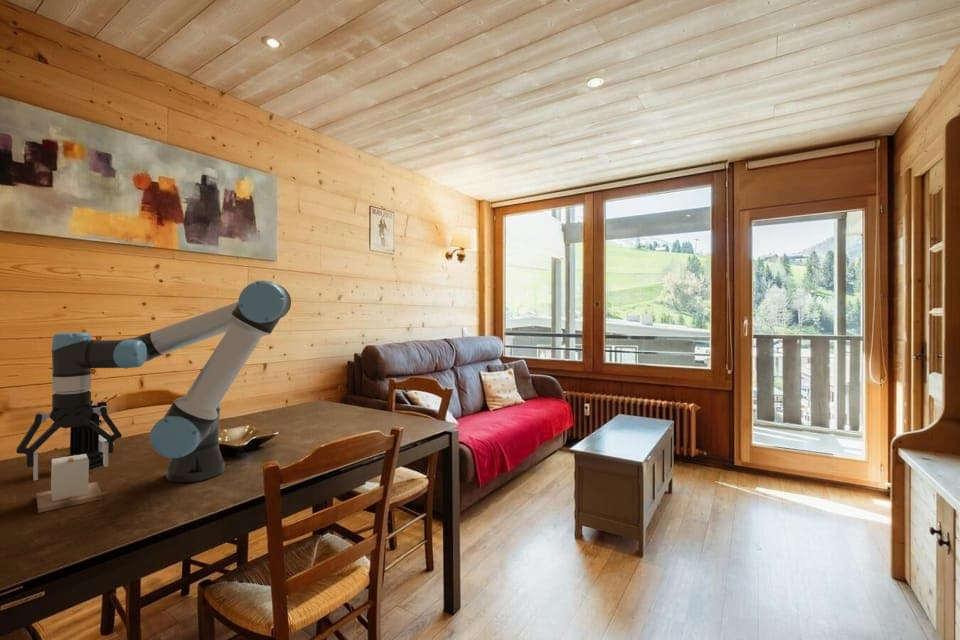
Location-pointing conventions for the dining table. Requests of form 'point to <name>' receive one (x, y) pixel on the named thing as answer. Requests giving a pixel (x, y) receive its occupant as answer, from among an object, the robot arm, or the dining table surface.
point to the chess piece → (87, 440)
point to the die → (102, 442)
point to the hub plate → (67, 499)
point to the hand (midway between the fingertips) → (72, 472)
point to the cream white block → (69, 476)
